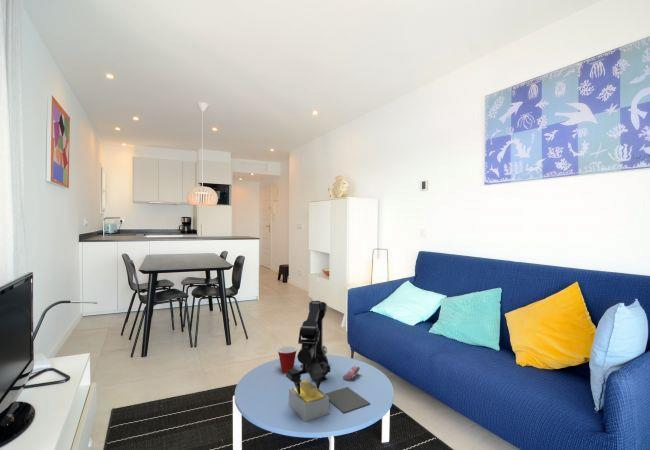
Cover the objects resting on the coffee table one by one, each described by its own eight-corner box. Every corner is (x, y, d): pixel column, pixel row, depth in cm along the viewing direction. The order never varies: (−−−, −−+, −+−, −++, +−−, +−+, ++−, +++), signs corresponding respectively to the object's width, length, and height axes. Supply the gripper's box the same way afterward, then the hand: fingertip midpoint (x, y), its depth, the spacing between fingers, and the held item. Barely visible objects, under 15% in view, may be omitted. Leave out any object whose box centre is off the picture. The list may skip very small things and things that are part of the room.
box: (310, 397, 152) (311, 382, 152) (328, 413, 139) (328, 397, 139) (288, 404, 146) (289, 388, 146) (305, 421, 133) (305, 404, 133)
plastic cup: (292, 365, 186) (292, 343, 186) (300, 372, 177) (301, 350, 177) (273, 369, 181) (274, 346, 181) (281, 377, 172) (281, 353, 172)
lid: (310, 386, 150) (310, 376, 150) (324, 398, 139) (324, 387, 139) (293, 391, 146) (293, 380, 146) (306, 404, 135) (306, 393, 135)
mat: (347, 388, 161) (347, 386, 161) (370, 404, 147) (370, 403, 147) (322, 395, 154) (322, 394, 154) (343, 413, 139) (343, 412, 139)
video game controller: (348, 384, 168) (354, 373, 166) (341, 378, 170) (347, 367, 168) (357, 377, 176) (362, 366, 175) (350, 371, 179) (355, 360, 177)
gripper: (298, 366, 131) (297, 406, 131) (337, 356, 140) (337, 393, 141) (285, 356, 140) (285, 393, 140) (323, 348, 150) (323, 383, 150)
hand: (308, 391), depth 142 cm, fingers open, 9 cm apart
